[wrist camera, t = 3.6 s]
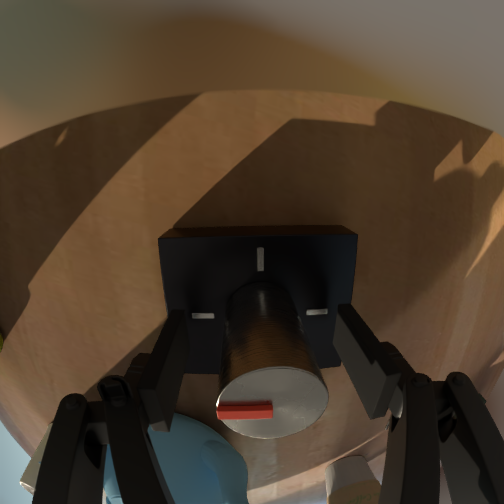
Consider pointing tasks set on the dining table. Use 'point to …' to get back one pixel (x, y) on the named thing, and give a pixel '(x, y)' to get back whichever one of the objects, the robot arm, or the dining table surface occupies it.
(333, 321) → the panel
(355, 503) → the coffee cup
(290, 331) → the stove knob
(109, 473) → the teapot
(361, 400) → the robot arm
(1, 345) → the flower pot
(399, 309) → the dining table surface
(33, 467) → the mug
